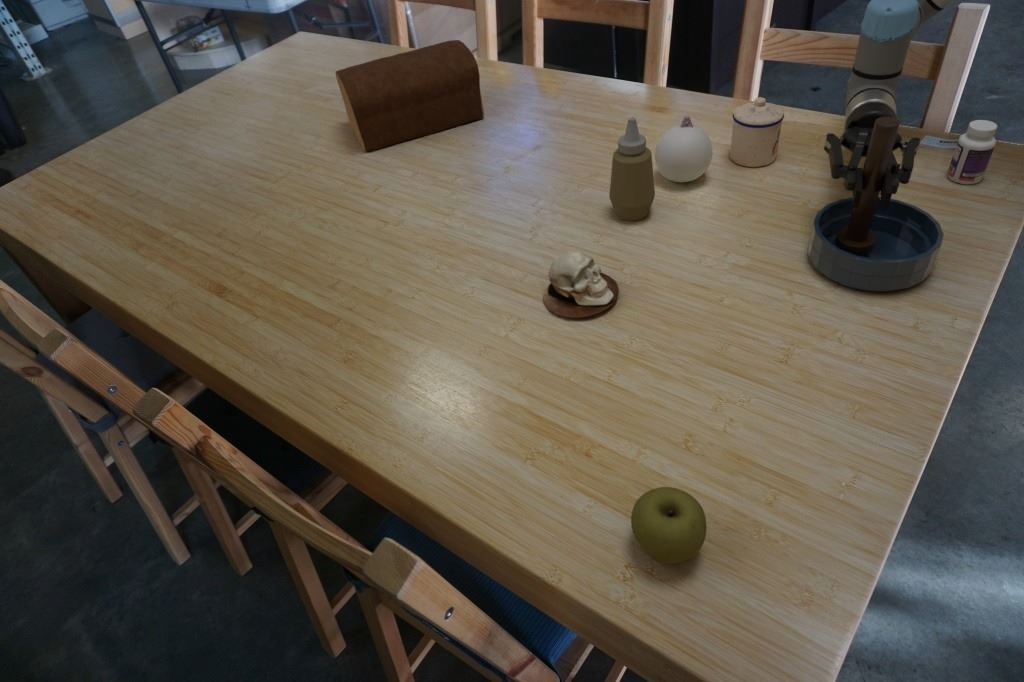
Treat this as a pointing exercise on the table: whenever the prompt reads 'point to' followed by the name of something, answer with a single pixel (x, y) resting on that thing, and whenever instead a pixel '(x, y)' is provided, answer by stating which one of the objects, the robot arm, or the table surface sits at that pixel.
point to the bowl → (877, 247)
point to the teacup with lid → (756, 133)
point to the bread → (411, 94)
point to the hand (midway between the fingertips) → (871, 200)
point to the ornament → (683, 152)
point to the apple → (668, 524)
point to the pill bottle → (973, 153)
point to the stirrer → (869, 188)
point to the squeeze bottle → (632, 175)
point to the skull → (578, 286)
